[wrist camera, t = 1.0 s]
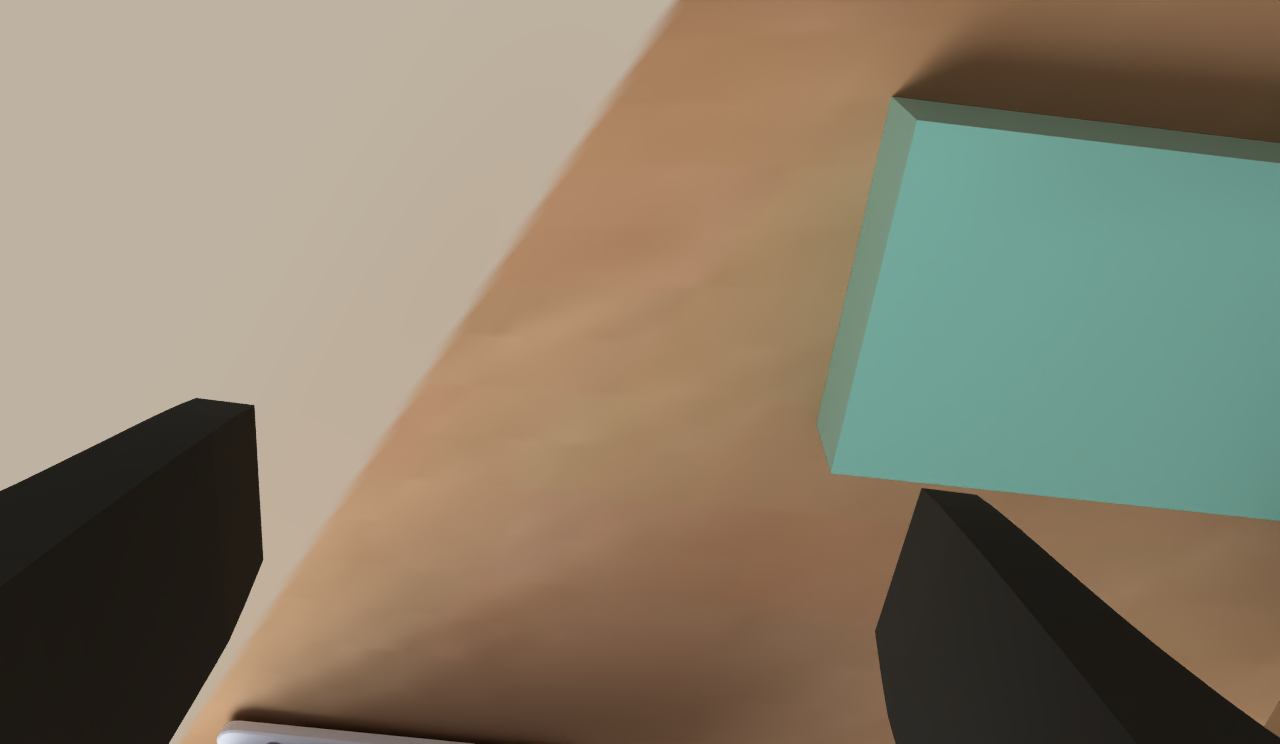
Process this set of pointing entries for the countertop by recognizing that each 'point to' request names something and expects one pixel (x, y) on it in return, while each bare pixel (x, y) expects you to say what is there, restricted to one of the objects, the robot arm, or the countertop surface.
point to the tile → (1063, 313)
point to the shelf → (1274, 721)
